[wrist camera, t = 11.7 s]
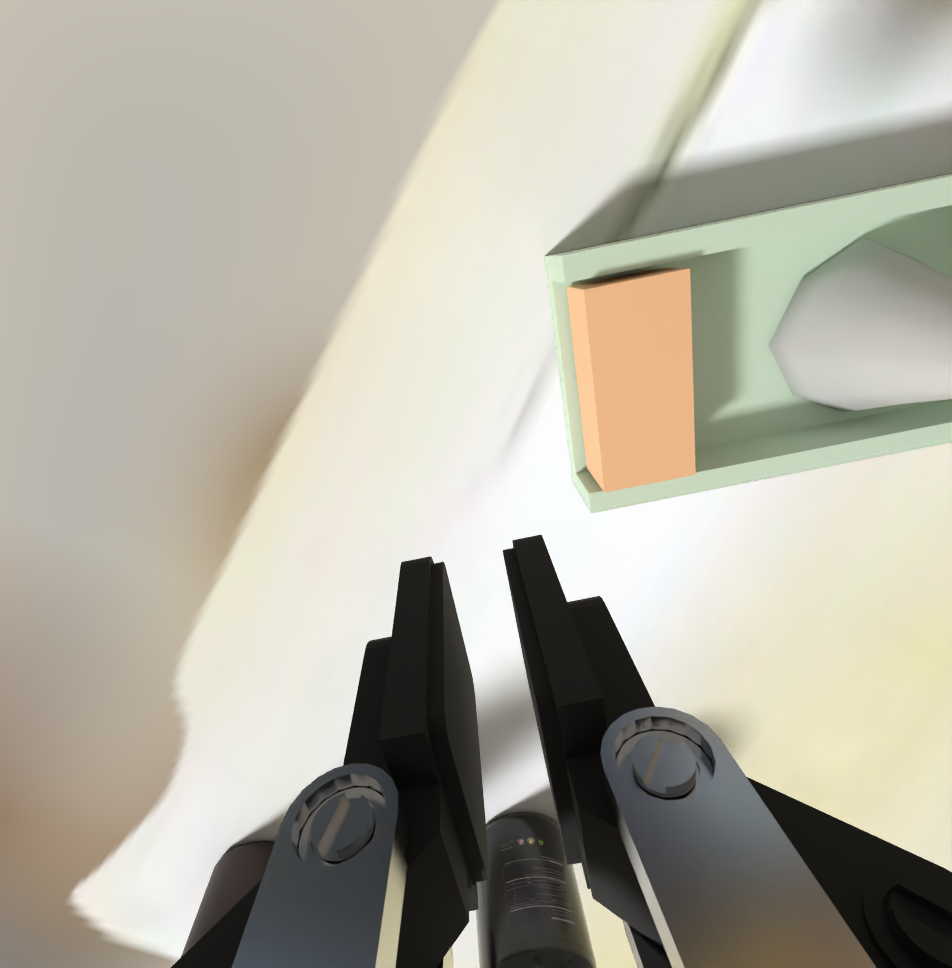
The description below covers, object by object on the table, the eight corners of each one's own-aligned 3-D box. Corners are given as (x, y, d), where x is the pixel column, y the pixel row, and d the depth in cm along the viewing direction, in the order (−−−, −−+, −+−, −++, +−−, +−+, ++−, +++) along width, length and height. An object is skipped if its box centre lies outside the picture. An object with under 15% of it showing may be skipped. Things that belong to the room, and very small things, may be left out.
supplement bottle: (558, 872, 40) (604, 1105, 29) (467, 872, 39) (479, 1111, 28) (573, 808, 37) (630, 1037, 26) (476, 808, 37) (493, 1042, 26)
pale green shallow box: (995, 164, 23) (1091, 147, 20) (954, 406, 28) (1027, 427, 24) (543, 256, 24) (561, 255, 20) (572, 482, 28) (591, 513, 24)
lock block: (659, 267, 23) (690, 268, 20) (668, 451, 26) (695, 474, 23) (566, 286, 23) (583, 289, 20) (586, 468, 26) (604, 492, 23)
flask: (737, 349, 24) (918, 402, 15) (861, 205, 22) (1155, 166, 13) (836, 435, 26) (1049, 528, 17) (958, 310, 24) (1274, 339, 15)
